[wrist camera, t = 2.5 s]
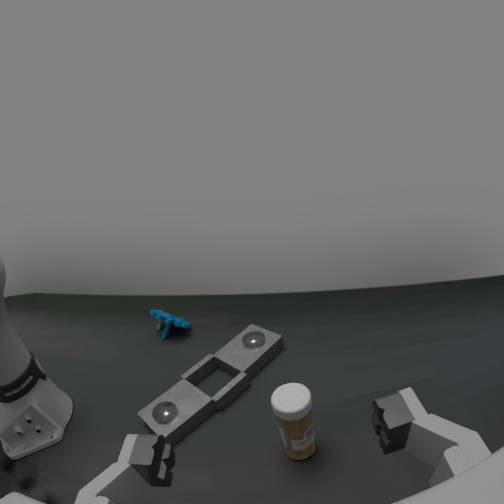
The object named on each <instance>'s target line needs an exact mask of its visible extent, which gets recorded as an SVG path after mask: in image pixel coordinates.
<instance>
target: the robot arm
mask: <svg viewBox="0 0 504 504" xmlns="http://www.w3.org/2000/svg"><path fill="white" fill-rule="evenodd" d="M5 277H6V275H5V267H4V264H3V261H2V259H1V257H0V439H1V443H2V447H3V449H4V451H5V453H6V454H7V455H8V456H9V457H10V458H11V459H12V460H16V459H19V458H21V457H24V456H26V455H29V454H31V453H34V452H36V451H39V450H41V449H43V448H46V447H48V446H51V445H53V444H55V443H58V442H59V441H61V439H62V437H63V434H64V429H65V427H66V425H67V423H68V421H69V420H70V417H71V415H72V410H73V403H72V400H71V398H70V397H69V396H68V395H67V394H66V393H64V392H63V391H62V390H60V389H59V388H58V387H57V386H56V385H55V384H54V383H53V382H52V381H51V380H50V379H49V378H48V377H47V376H46V374H45V371H44V370H43V368H42V367H41V365H40V364H39V362H38V361H37V359H36V358H35V357H34V356H33V354H32V353H31V352H30V351H28V350H27V349H26V347H25V345H24V344H23V342H22V340H21V339H20V337H19V335H18V334H17V332H16V330H15V328H14V327H13V325H12V323H11V320H10V318H9V315H8V312H7V309H6V305H5V301H4V295H3V291H4V287H5V280H6V278H5ZM372 406H373V408H374V411H373V412H372V424H373V428H374V431H375V433H376V435H378V436H380V441H379V443H380V446H381V448H382V450H383V453H384V455H386V454H389V453H392V452H395V451H398V450H401V449H403V448H405V450H407V451H409V452H410V453H412V454H413V455H415V456H416V457H418V458H419V459H421V460H423V461H424V462H426V463H427V464H429V465H431V466H432V467H434V468H435V469H436V470H435V472H434V474H433V476H432V478H431V479H430V481H429V484H430V486H431V488H429V489H427V490H424V491H422V492H420V493H417V494H415V495H413V496H410V497H408V498H405V499H403V500H400V501H397V502H395V503H392V504H504V446H503V447H502V448H501V449H499V450H498V451H496V452H495V453H493V454H491V453H490V451H489V450H488V448H487V447H486V445H485V444H484V442H483V441H482V439H481V437H480V436H479V434H478V433H477V432H475V431H472V430H470V429H467V428H465V427H462V426H460V425H457V424H455V423H452V422H450V421H448V420H445V419H443V418H441V417H438V416H436V415H434V414H429V415H428V414H427V412H426V411H425V409H424V407H423V406H422V404H421V403H420V401H419V399H418V398H417V396H416V395H415V393H414V391H413V390H412V388H410V387H409V388H406V389H403V390H400V391H398V392H394V393H391V394H389V395H386V396H383V397H380V398H377V399H374V400H373V405H372ZM174 466H175V453H174V450H173V448H172V447H171V446H170V445H168V444H166V438H165V437H164V436H163V435H144V434H128V435H127V436H126V438H125V441H124V444H123V447H122V450H121V453H120V455H119V458H118V461H117V463H113V464H112V465H111V466H110V467H108V468H107V469H106V470H105V471H104V472H102V473H101V474H100V475H99V476H97V477H96V478H95V479H94V480H92V481H91V482H90V483H89V484H87V485H86V486H85V487H84V488H82V489H81V490H80V491H79V493H78V496H77V499H76V501H75V504H138V503H139V502H140V501H141V500H142V499H143V498H144V496H145V495H146V494H147V493H148V492H149V491H150V489H151V488H152V486H158V487H171V482H172V477H173V474H172V472H171V471H170V470H171V469H172V468H173V467H174ZM0 504H45V503H42V502H40V501H37V500H34V499H32V498H30V497H27V496H25V495H23V494H20V493H17V492H12V493H10V494H7V495H6V496H4V497H3V498H1V499H0Z"/></svg>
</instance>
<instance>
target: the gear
mask: <svg viewBox="0 0 504 504" xmlns="http://www.w3.org/2000/svg"><path fill="white" fill-rule="evenodd" d="M150 313H151V315H152V316H155V317H156V318H157V319H158V320H159V324H158V328H157V329H158V330H160V328H161V325H162V323H163V324H164V325H166V326H165V329H164V332H163V335H162V338H164V339H166V337H167V334H168V331H169V328H170V327H171V326H172V323H173V324H175V326H178V327H180V326H182V327H183V328H190V326H191V324H189V322H187V321H183V319H181V318H177V317H175V316H174V315H172V314H167V313H165V312H163V311H161V310H159V311H158V310H150Z"/></svg>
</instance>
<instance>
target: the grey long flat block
mask: <svg viewBox="0 0 504 504" xmlns="http://www.w3.org/2000/svg"><path fill="white" fill-rule="evenodd" d="M283 348H284V344H283V338H282V336H281V335H278V334H276V333H273V332H271V331H268V330H266V329H263V328H260V327H258V326H255V325H253V324H251V325H250V326H248V327H247V328H246V329H245V330H244V331H242V332H241V333H240V334H239V335H237V336H236V337H235V338H234V339H233V340H231V341H230V342H229V343H228V344H226V345H225V346H224V347H223V348H222V349H220V350H219V351H218V352H217V353H215V354H214V355H211V354H209V355H208V356H206V357H205V358H204V359H202V360H201V361H200V362H199V363H197V364H196V365H195V366H193V367H192V368H191V369H190V370H188V371H187V372H186V373H184V374H183V375H182V376H181V377H182V380H181V381H180V382H178V383H177V384H176V385H174V386H173V387H172V388H170V389H169V390H168V391H166V392H165V393H164V394H162V395H161V396H160V397H158V398H157V399H156V400H154V401H153V402H152V403H150V404H149V405H148V406H146V407H145V408H143V409H142V410H141V411H139V412H138V413H137V414H138V415H139V416H140V417H141V419H142V420H143V421H144V423H145V424H146V425H147V426H148V427H149V428H150V429H151V430H152V431H153V432H154V433H155V434H156V435H163V436H164V437H165V438H166V444H168V445H170V446H171V447H172V446H173V445H175V444H176V443H177V442H178V441H180V440H181V439H182V438H183V437H185V436H186V435H187V434H188V433H190V432H191V431H192V430H193V429H195V428H196V427H197V426H198V425H199V424H201V423H202V422H203V421H204V420H205V419H206V418H208V417H209V416H210V415H211V414H212V413H214V412H215V411H216V410H217V409H218V410H219V411H222V410H223V409H224V408H226V407H227V406H228V405H229V404H230V403H231V402H232V401H233V400H235V399H236V398H237V397H238V396H239V395H240V394H241V393H242V392H243V391H244V390H246V389H247V388H248V387H249V386H250V382H249V380H250V379H252V378H253V377H254V376H255V375H256V374H257V373H258V372H259V371H260V370H261V369H262V368H263V367H264V366H265V365H266V364H267V363H268V362H269V361H271V360H272V359H273V358H274V357H275V356H276V355H277V354H278V353H279V352H280V351H281V350H282V349H283ZM217 367H220V368H221V369H223V370H225V371H226V372H228V373H230V374H232V375H233V376H235V378H234V379H233V380H232V381H230V382H229V383H228V384H227V385H226V386H225V387H224V388H222V389H221V390H220V391H219V392H218V393H217V394H215V395H214V396H213V397H212V398H210V397H209V396H208V395H206V394H205V393H203V392H202V391H200V390H199V389H198V388H196V387H195V385H196V384H197V383H199V382H200V381H201V380H202V379H204V378H205V377H206V376H207V375H209V374H210V373H211V372H212V371H214V370H215V369H216V368H217Z"/></svg>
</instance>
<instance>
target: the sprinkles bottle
mask: <svg viewBox="0 0 504 504" xmlns="http://www.w3.org/2000/svg"><path fill="white" fill-rule="evenodd" d="M271 403H272V408H273V411H274V413H275V415H276V417H277V421H278V426H279V430H280V434H281V437H282V441H283V444H284V446H285V452H286V454H287V455H288V456H289V457H290V458H292V459H295V460H302V459H306V458H308V457H309V456H311V455H312V454H313V453H314V452H315V448H316V443H315V440H314V437H315V435H314V426H313V421H312V412H311V406H312V399H311V393H310V391H309V390H308V388H307V387H305V386H304V385H302V384H299V383H288V384H284V385H282V386H280V387H279V388H277V389H276V390H275V391H274V393H273V394H272V397H271Z"/></svg>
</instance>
